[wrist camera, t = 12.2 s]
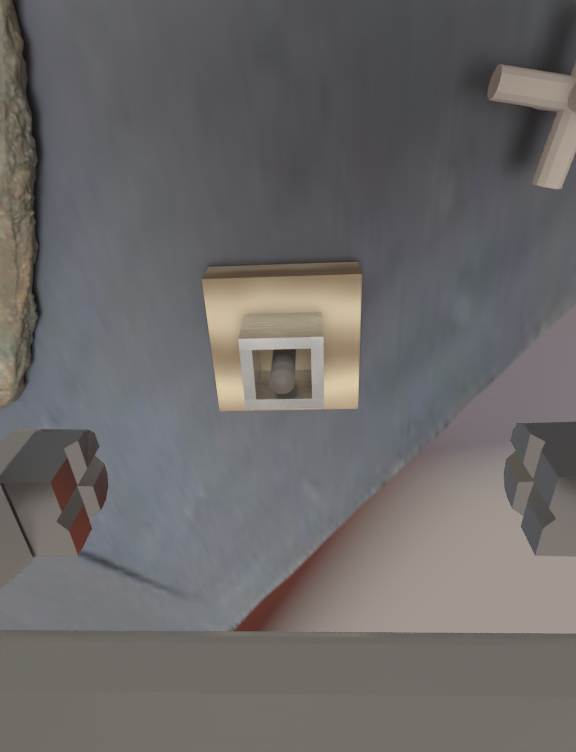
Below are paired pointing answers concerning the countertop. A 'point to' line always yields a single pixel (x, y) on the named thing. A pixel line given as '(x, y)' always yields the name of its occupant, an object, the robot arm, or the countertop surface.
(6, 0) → the long grey stone
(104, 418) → the countertop surface
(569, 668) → the robot arm
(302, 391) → the silver square ring
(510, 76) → the pipe connector
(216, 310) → the shaft stand
